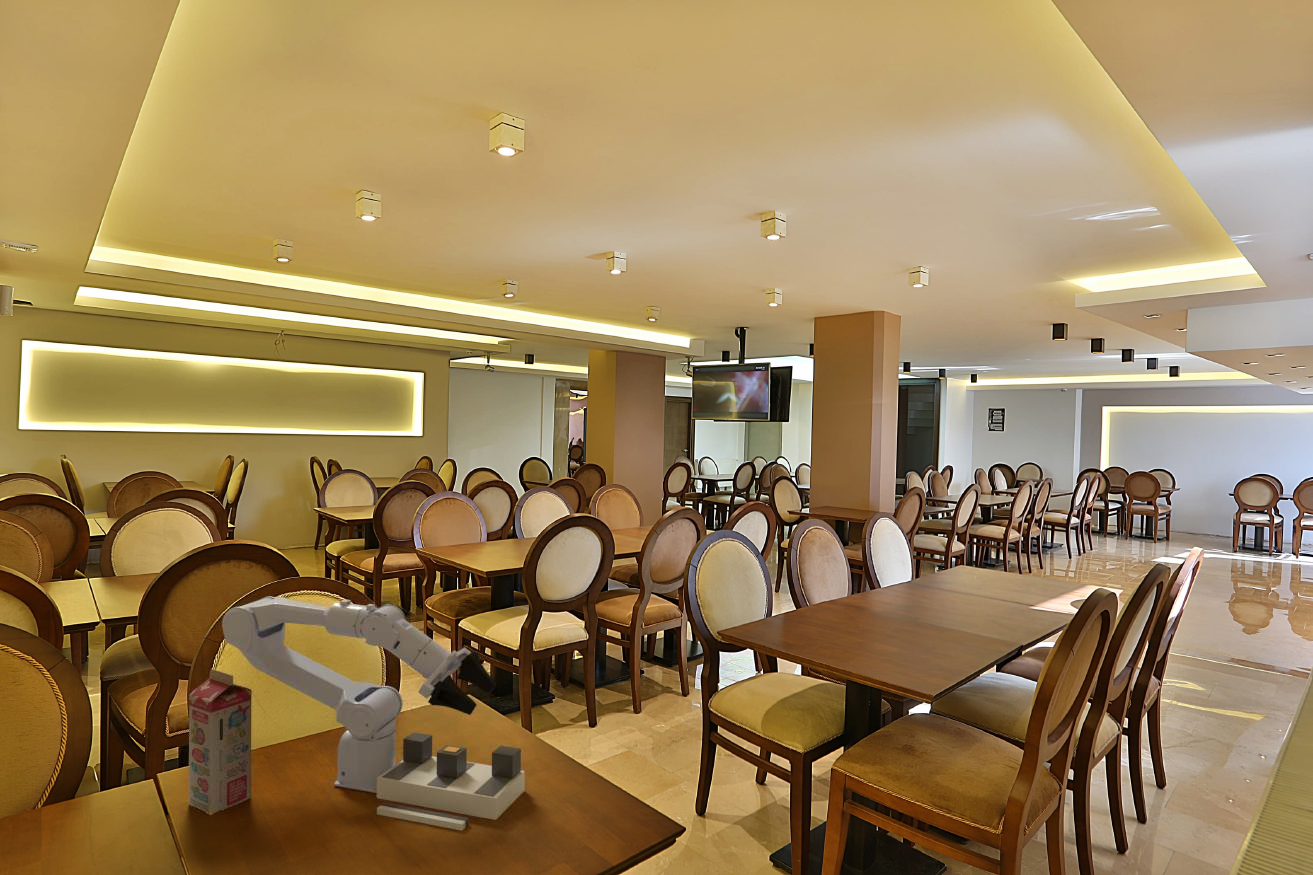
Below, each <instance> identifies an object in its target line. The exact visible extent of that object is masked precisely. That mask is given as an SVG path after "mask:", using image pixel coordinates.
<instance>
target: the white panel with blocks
mask: <svg viewBox="0 0 1313 875" xmlns="http://www.w3.org/2000/svg"><path fill="white" fill-rule="evenodd" d="M402 739H403V741H402V749H403V750H402V760H401V761H399V762H398V763H395V766H393V767H392V768H390V769H389V770H387V771H386V772H384V773H383V774H382V775H380V776H379V777H377V793H376V799H380V800H386V801H390V802H396V803H402V804H406V805H413V806H417V807H422V808H428V809H429V808H430V809H435V810H439V811H446V812H451V813H456V814H461V815H462V814H463V815H466V816H472V817H477V818H484V819H488V820H489V819H490V820H493V821H496V820H497V819H499V817H500V816H502V814H503V813H504V812H505V811H506V810H507V809H508V808H509V807H510V806H511V805H512V804H513V803H514V802H516V801H517V799H518V798H519V797H520V796H521V795H522V794H523V793H524V792H525V774H526V772H525V770H521V769H522V766H521V764H522V760H521V759H522V748H519V747H513V746H505V745H500V746H498V747H497V748H496V749H494V750H493V751H492V752H491V765H490V764H489V765H488V764H483V763H478V762H473V761H472V762H470V761H466V772H465V773H463V774H462V775H461V776H460V777H458V778H457V779H455V778H449V777H443V776H437V756H434V755H433V735H432V734H428V733H427V734H425V733H419V732H412V733H410V734H408V735H407V736H406V737H404V738H402Z"/></svg>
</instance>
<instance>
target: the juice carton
mask: <svg viewBox="0 0 1313 875" xmlns="http://www.w3.org/2000/svg"><path fill="white" fill-rule="evenodd" d="M252 693H253V692H252V689H251V688H248V687H245V686H242V685H239V684H236V683H234V675H233V674H228V673H227V672H222V671H219V670H216V669H213V668H210V669H209V678H208V679H207V680H205V681H204V682H203V683H201V684H200V685H199V686H198V687H196V688H195V689H193V691H192V692H191V693H190V694H189V705H188V706H189V712H188V713H189V716H188V717H189V720H188V721H189V722H188V723H189V728H188V729H189V730H188V734H189V735H188V741H189V742H188V748H189V749H188V804H189V803H190V804H192V805H194V806H196V807H198V808H200V809H201V810H203V811H205V812H208V813H209V814H210V805H211V814H212V813H215V812H218V811H220V810H222V811H224V809H225V810H226V808H227V809H229V808H231V807H233V805H234V806H236V805H238V804H241V803H242V802H246V801H248V800H249V799H251V798H252V797H251V796H252V787H251V786H252ZM228 807H229V808H228ZM220 812H221V811H220ZM218 813H219V812H218Z"/></svg>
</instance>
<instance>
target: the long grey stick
mask: <svg viewBox="0 0 1313 875" xmlns="http://www.w3.org/2000/svg"><path fill="white" fill-rule="evenodd" d="M376 815H379V816H384V817H389V818H395V819H399V820H405V821H409V822H416V823H419V824H420V823H421V824H426V825H432V826H436V827H442V828H448V829H452V830H457V831H463V830H465V828H466V827H468V825H469V817H465V816H459V815H454V814H453V815H452V814H450V813H449V814H448V813H443V812H438V811H437V812H436V811H432V810H428V809H427V810H426V809H421V808H417V807H410V806H406V805H400V804H393V803H387V802H383V803H382V804H381V805H379V806H378V807H376Z"/></svg>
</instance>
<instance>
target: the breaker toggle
mask: <svg viewBox="0 0 1313 875" xmlns="http://www.w3.org/2000/svg"><path fill="white" fill-rule="evenodd" d="M467 755H468V754H467V747H460V746H454V745H449V744H448V745H447V744H446V745H445V746H443V747H442V748H440V749H439V750H438V751H436V757H437V776H443V777H449V778H455V779H457V778H458V777H460V776H461V775H462V774H463V773H465V772H466V762H467Z"/></svg>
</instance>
